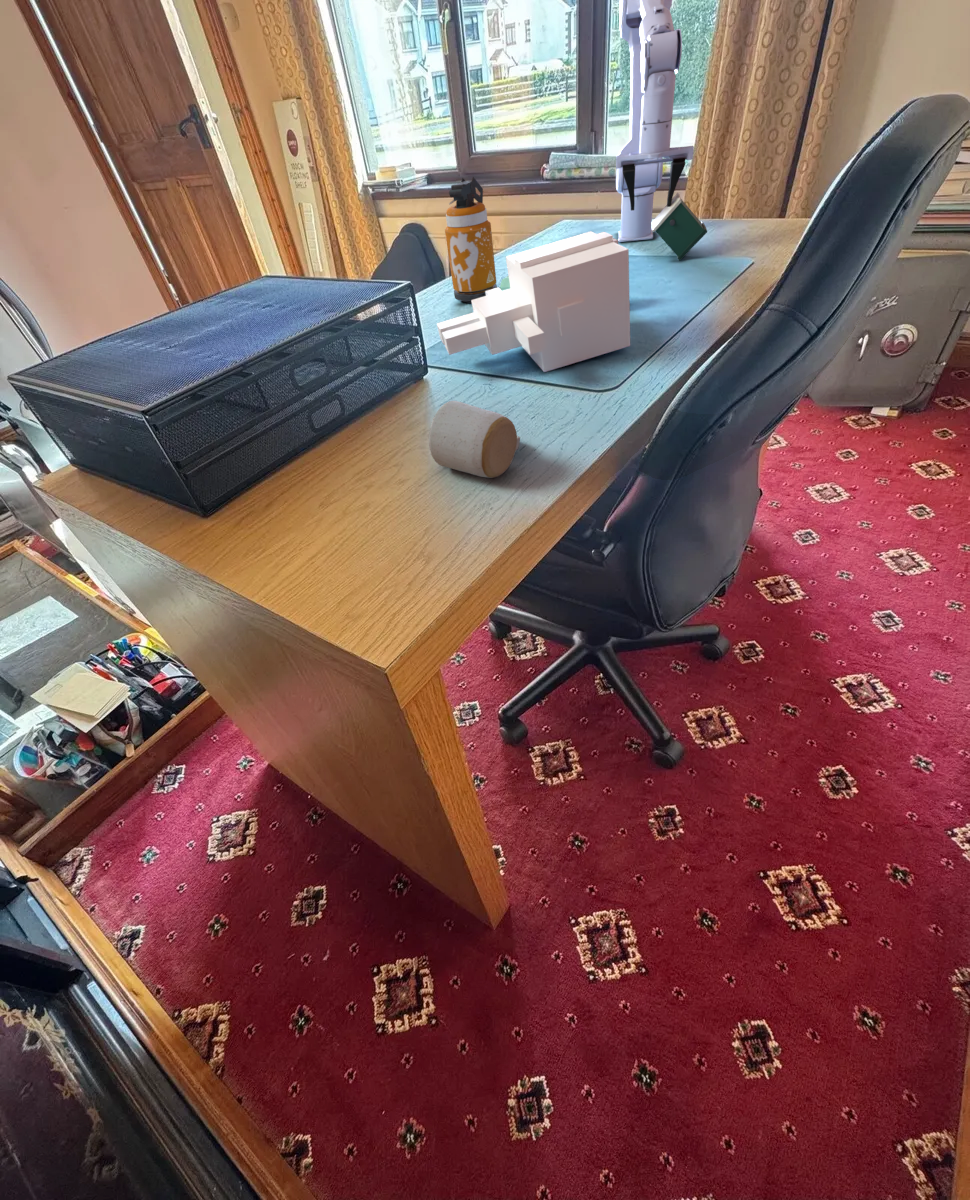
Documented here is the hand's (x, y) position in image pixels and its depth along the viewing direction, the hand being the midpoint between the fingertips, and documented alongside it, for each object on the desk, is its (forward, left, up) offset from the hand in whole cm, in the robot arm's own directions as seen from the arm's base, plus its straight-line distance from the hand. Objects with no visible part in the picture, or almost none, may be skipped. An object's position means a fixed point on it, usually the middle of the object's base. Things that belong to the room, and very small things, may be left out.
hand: (650, 207), depth 116 cm
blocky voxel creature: (+51, -19, -10) cm, 55 cm away
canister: (+17, -35, -10) cm, 40 cm away
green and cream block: (0, +4, -6) cm, 7 cm away
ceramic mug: (+84, -21, -10) cm, 87 cm away
